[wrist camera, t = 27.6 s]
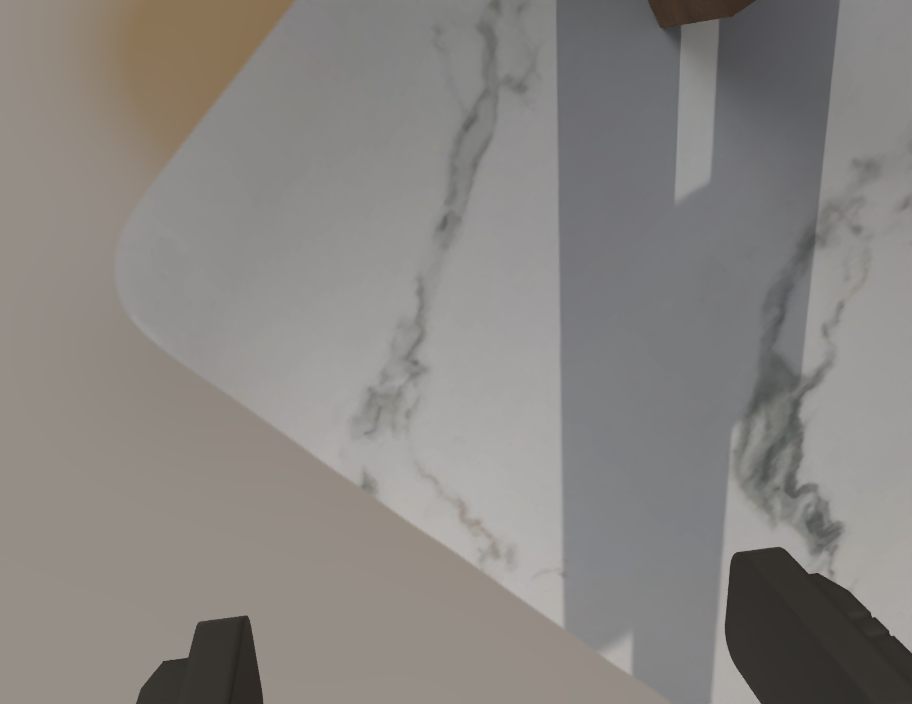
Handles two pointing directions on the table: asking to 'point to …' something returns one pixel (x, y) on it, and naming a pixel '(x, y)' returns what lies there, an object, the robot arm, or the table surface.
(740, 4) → the miniature wooden chair
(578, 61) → the table surface
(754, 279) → the table surface
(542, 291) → the table surface
